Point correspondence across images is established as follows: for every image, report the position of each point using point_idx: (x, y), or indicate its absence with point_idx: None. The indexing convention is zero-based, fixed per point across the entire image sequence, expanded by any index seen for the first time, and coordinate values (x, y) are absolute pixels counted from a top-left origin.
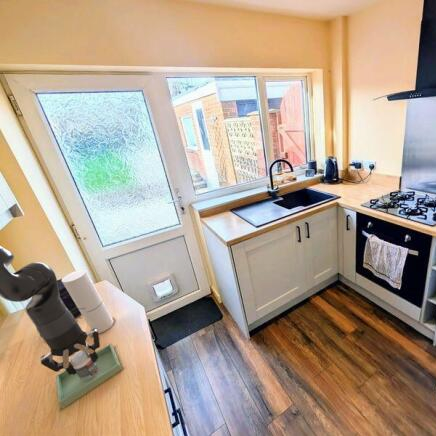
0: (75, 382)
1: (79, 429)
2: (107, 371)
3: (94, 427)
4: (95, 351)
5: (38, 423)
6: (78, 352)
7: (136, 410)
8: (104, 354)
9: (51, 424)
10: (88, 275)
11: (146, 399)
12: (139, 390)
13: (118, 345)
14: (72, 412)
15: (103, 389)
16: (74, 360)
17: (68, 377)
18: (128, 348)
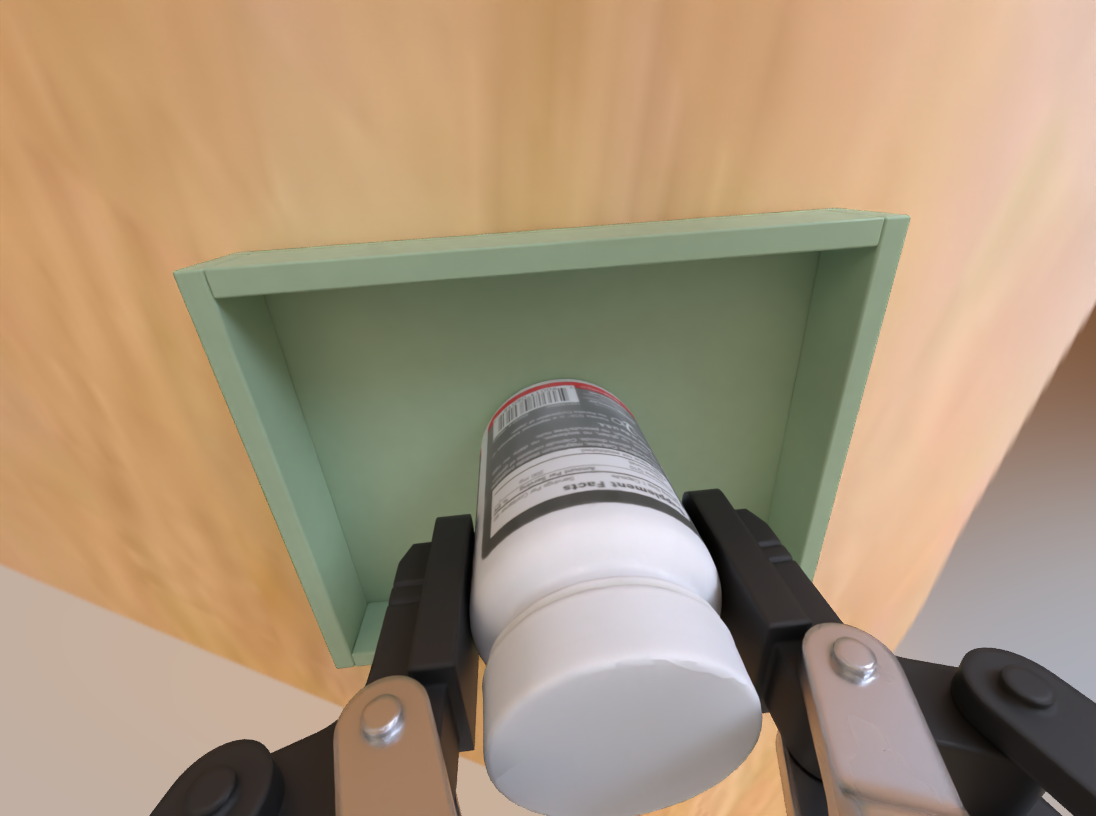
0: (430, 452)
1: (473, 755)
2: None
3: None
4: (806, 584)
5: (204, 611)
6: (644, 674)
7: (712, 795)
8: (733, 262)
9: (307, 662)
10: None
11: (766, 779)
12: (767, 733)
13: (889, 207)
14: None
15: None
16: (553, 793)
17: (345, 318)
18: (918, 359)
